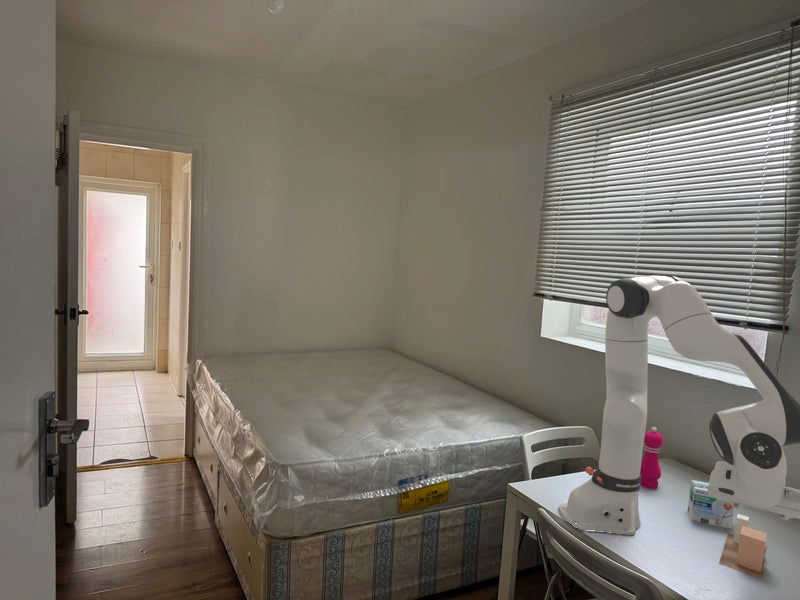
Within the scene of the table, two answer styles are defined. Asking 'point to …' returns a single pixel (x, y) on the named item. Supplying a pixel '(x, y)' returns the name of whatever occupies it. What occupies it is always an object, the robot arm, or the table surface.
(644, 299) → the robot arm
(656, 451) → the pepper mill
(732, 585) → the table surface
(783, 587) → the table surface
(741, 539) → the peach rectangular block
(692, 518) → the light bulb box
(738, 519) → the post
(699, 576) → the table surface
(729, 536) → the board
